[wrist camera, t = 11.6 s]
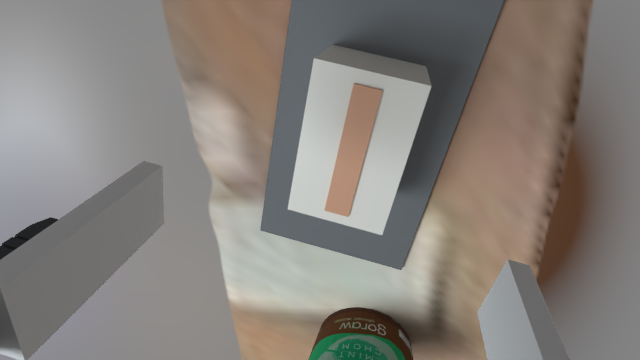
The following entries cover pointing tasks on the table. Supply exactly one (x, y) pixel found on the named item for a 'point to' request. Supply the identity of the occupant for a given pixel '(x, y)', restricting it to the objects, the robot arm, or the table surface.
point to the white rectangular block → (356, 136)
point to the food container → (361, 337)
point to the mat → (435, 124)
